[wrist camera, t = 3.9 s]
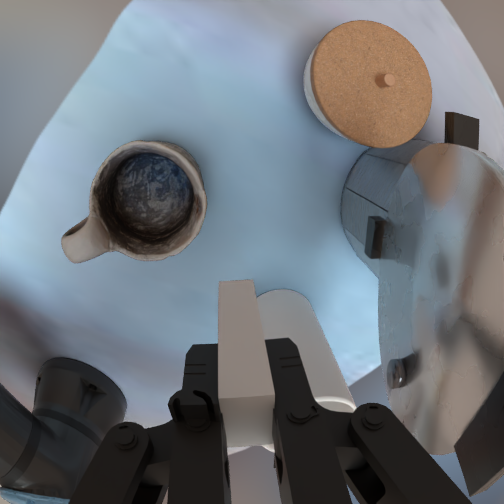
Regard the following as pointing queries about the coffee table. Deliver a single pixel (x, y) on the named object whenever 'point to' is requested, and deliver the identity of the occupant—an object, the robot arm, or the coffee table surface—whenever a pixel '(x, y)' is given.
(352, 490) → the robot arm
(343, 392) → the cup
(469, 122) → the pot
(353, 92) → the lidded jar
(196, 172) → the mug
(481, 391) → the lid
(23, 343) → the coffee table surface
